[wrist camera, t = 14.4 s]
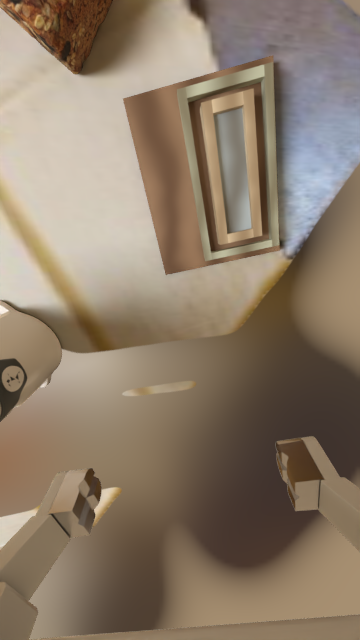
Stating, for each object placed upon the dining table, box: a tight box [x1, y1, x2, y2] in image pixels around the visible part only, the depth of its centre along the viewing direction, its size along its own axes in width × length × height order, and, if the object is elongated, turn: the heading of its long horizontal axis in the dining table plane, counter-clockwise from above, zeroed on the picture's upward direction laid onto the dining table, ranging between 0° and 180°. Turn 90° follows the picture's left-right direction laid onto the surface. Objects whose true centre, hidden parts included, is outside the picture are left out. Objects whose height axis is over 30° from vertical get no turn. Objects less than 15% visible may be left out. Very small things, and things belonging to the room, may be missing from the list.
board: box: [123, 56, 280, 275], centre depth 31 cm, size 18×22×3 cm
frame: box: [200, 89, 262, 245], centre depth 30 cm, size 6×16×2 cm, turn 12°
